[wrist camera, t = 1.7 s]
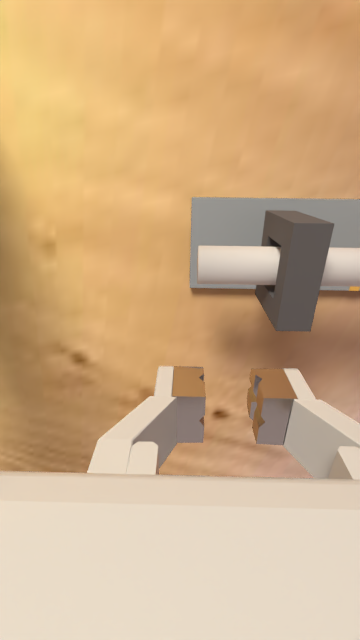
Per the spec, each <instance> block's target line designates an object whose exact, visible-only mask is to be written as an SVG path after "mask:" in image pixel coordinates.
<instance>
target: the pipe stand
mask: <svg viewBox="0 0 360 640" xmlns="http://www.w3.org/2000/svg"><path fill="white" fill-rule="evenodd" d="M266 210H286V211H298V212H301V213H304V214H307V215H310V216H313V217H316V218H319V219H322V220H325V221H328V222H331V223H334V228H333V233H332V237H331V242H330V246H329V251H328V255H327V259H326V264H325V268H324V273H323V277H322V282H321V286H320V290H349V291H360V199H298V198H216V197H192V215H191V255H190V288H235V289H256V285H276V278H277V272H278V266H279V259H280V253H281V247H265V246H261V244H262V236H263V228H264V220H265V212H266Z"/></svg>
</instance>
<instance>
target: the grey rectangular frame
mask: <svg viewBox="0 0 360 640" xmlns="http://www.w3.org/2000/svg"><path fill="white" fill-rule="evenodd" d="M333 228H334V223H331V222H328V221H325V220H322V219H319V218H316V217H313V216H310V215H307V214H304V213H301V212H298V211H286V210H266V212H265V220H264V228H263V236H262V244H261V246H265V247H281V253H280V259H279V266H278V272H277V278H276V285H256V291H255V295H256V296H257V298H258V300H259V302H260V303H261V305H262V307H263V309H264V310H265V312H266V314H267V316H268V317H269V319H270V321H271V323H272V324H273V326H274V328H275V330H276V331H311V326H312V322H313V317H314V313H315V308H316V304H317V299H318V295H319V291H320V286H321V282H322V277H323V273H324V268H325V264H326V259H327V255H328V251H329V246H330V242H331V237H332V233H333Z"/></svg>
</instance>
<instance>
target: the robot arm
mask: <svg viewBox="0 0 360 640" xmlns="http://www.w3.org/2000/svg"><path fill="white" fill-rule="evenodd" d="M249 379H250V382H251V387H250V388H249V389H248V394H247V407H248V413H249V417H250V418H251V419H252V420H253V425H252V429H253V433H254V436H255V440H256V444H272V445H284V447H285V448H286V449H287V451H288V452H289V453H290V454H291V455H292V456H293V457H294V458H295V459H296V460H297V461H298V462H299V463H300V464H301V465H302V466H303V467H304V468H305V469H306V470H307V471H308V472H309V473H310V474H311V475H312V476H313V477H314V478H277V477H234V476H192V475H159V468H160V467H161V465H162V464H163V462H164V461H165V460H166V458H167V457H168V455H169V454H170V453H171V451H172V450H173V448H174V447H175V446H176V444H177V443H197V442H203V436H204V415H205V399H206V396H205V382H203V381H204V370H203V367H183V366H174V367H173V366H159V367H158V373H157V379H156V386H155V392H154V396H149V397H148V398H147V399H146V400H145V401H143V402H142V403H141V404H140V405H139V406H137V407H136V408H135V409H134V410H133V411H131V412H130V413H129V414H128V415H127V416H125V417H124V418H123V419H122V420H121V421H120V422H118V423H117V424H116V425H115V426H114V427H112V428H111V429H110V430H109V431H108V432H106V433H105V434H104V435H103V436H102V437H100V438H99V439H98V442H97V445H96V448H95V451H94V454H93V456H92V459H91V462H90V465H89V468H88V471H87V473H72V472H32V471H0V640H360V424H359V423H358V422H356V421H355V420H353V419H351V418H350V417H348V416H347V415H345V414H343V413H342V412H340V411H338V410H337V409H335V408H334V407H332V406H330V405H329V404H327V403H325V402H324V401H322V400H316V398H315V396H314V395H313V393H312V391H311V390H310V388H309V386H308V384H307V383H306V381H305V379H304V378H303V376H302V374H301V373H300V371H299V370H298V369H297V368H282V369H251V372H250V378H249Z"/></svg>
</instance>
